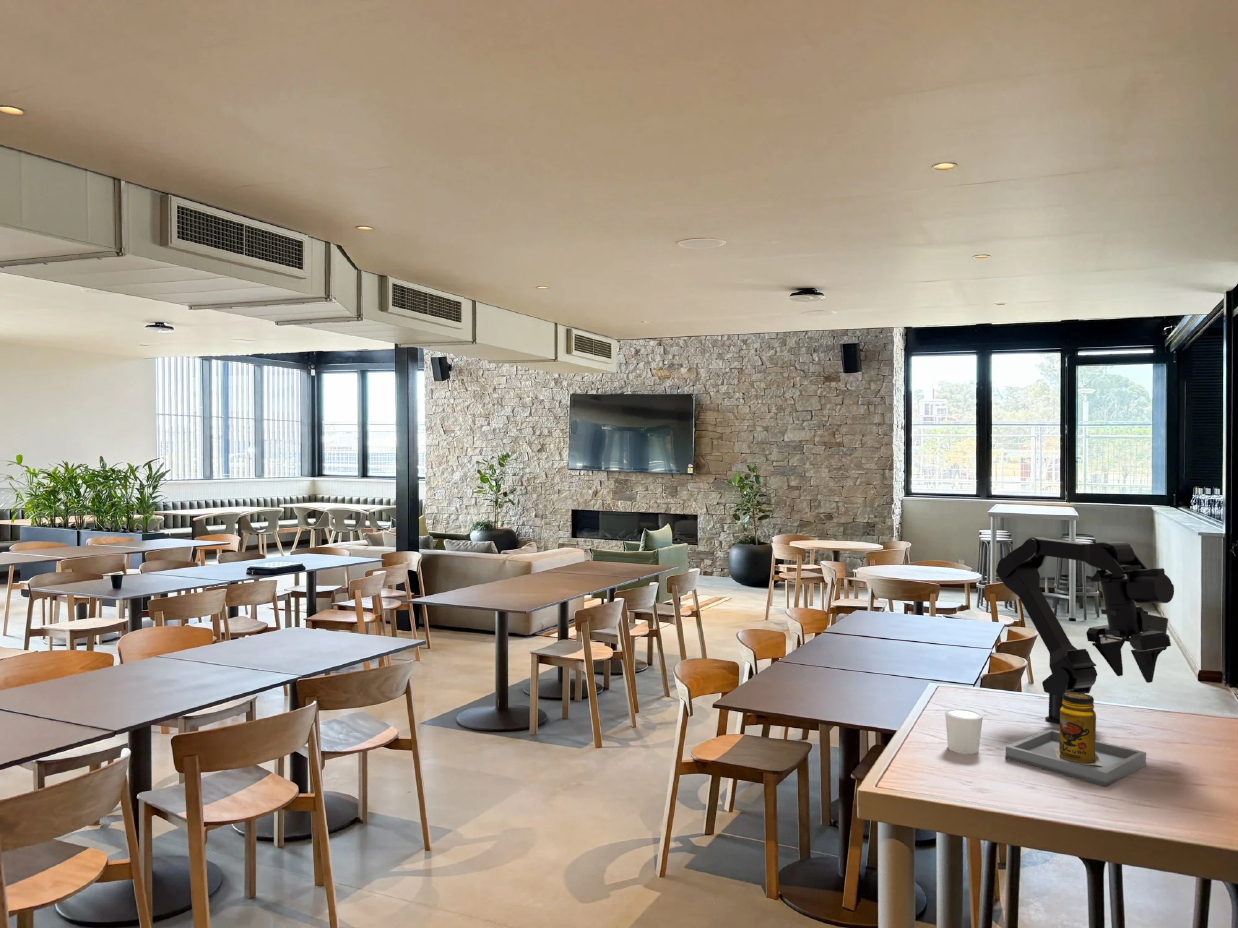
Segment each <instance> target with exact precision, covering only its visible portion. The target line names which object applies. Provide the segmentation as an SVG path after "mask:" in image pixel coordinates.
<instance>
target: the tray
mask: <svg viewBox="0 0 1238 928" xmlns="http://www.w3.org/2000/svg"><path fill="white" fill-rule="evenodd" d="M1059 736H1060V730H1054V729H1050V728H1049V729H1045V730H1043V731H1041V732H1039V733H1038V732H1037V733H1035V734H1033V735H1031V736H1028V737H1025V738H1022V739H1021V740H1018V741H1016V742H1013V743H1011V744H1007V745H1005V756H1004V757H1005V760H1007V759H1009V760H1008V761H1010V762H1014V761H1015V762H1016V763H1018V762H1019V764H1022V765H1026V766H1030V767H1032V768H1037V769H1041V770H1044V771H1048V772H1051V773H1053V774H1054V773H1055V774H1059V775H1063V776H1065V777H1069V778H1072V777H1073V779H1076V780H1079V779H1080V781H1084V782H1086V783H1087V782H1088V783H1091V784H1094V785H1098V786H1102V787H1108V786H1110V785H1112V784H1114V783H1116V782H1117V781H1119V780H1121V779H1123V778H1125V777H1127V776H1129V775H1130V774H1132V773H1134V772H1136V771H1138V770H1140V769H1141V768H1143V767H1145V766H1146V765H1147V752H1145V751H1142V750H1137V749H1133V748H1128V747H1125V746H1121V745H1117V744H1113V743H1108V742H1104V741H1100V740H1096V745H1095V748H1096V749H1095V752H1096V753H1097V756H1098V757H1099V760H1100V762H1101V764H1102V766H1098V765H1085V764H1077V763H1073V762H1069V761H1066V760H1062V759H1058V758H1057V756H1056V753H1055V750H1054V748H1059V746H1060V744H1059V740H1060V738H1059Z"/></svg>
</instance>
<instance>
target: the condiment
mask: <svg viewBox="0 0 1238 928" xmlns="http://www.w3.org/2000/svg"><path fill="white" fill-rule="evenodd" d="M1062 697H1063V701H1062V704H1063V706H1062V707H1061V709H1060V723H1059V732H1060V736H1059V738H1060V740H1059V744H1060V746H1059V748H1054V750H1055V753H1056V756H1057V758H1058V759H1062V760H1066V761H1069V762H1073V763H1077V764H1085V765H1098V766H1102V764H1101V762H1100V760H1099V757H1098V756H1097V753H1096V752H1095V749H1096V748H1095V745H1096V738H1097V734H1096V731H1097V729H1096V728H1097V713H1096V711H1095V710H1094V708H1095V705H1094V703H1095V700H1094V697H1093V695H1091V694H1089V693H1088V694H1086V693H1085V694H1084V693H1076V692H1068V693H1064V694H1063V696H1062Z"/></svg>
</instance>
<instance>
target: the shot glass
mask: <svg viewBox="0 0 1238 928" xmlns="http://www.w3.org/2000/svg"><path fill="white" fill-rule="evenodd" d="M944 715H945V727H946V729H945V730H946V739H947V740H946V741H947V748H948V750H950V751H952V752H954V753H958V754H963V755H976V754H977V753H979V751H980V750H979V749H980V743H981V735H982V727H983V717H984V716H983V714H981V713H980V712H977V711H973V710H969V709H968V710H967V709H958V708H957V709H956V708H955V709H949V710H946V711H945V713H944Z"/></svg>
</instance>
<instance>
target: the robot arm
mask: <svg viewBox="0 0 1238 928" xmlns="http://www.w3.org/2000/svg"><path fill="white" fill-rule="evenodd" d="M1047 557H1050V558H1051V557H1052V558H1058V559H1059V558H1060V559H1066V560H1072V561H1073V560H1074V561H1079V562H1082V563H1085V564H1087V565H1088V566H1089V567H1093V568H1096V569H1097V570H1096V571H1095V573H1094V575H1093V576H1091V578H1089V581H1090V582H1091V583H1099V584H1100V586H1101V587H1100V588H1101V592H1102V593H1101V594H1102V597H1103V604H1104V608H1101V609H1100V611H1101V615H1106V619H1107V624H1103V625H1102V624H1101V625H1098V626H1097V625H1096V626H1092V627H1088V629H1087V630H1086V633H1085V635H1086V638H1087V642H1091V645H1092V646H1093V647H1095V648H1096V650H1097V651H1098V652H1099V653H1100V655H1101V656H1102V657H1103V659H1104V660H1105V661H1106V662H1107V664H1108V665H1109V667H1110V669H1112V671H1113V672H1114V674H1115V675H1116V676H1117V677H1123V675H1124V670H1123V669H1124V668H1123V657H1122V648H1123V646H1124V644H1125V643H1126V642H1128V643H1129V645H1130V646H1131V648H1132V649H1131V650H1130V652H1131V654H1132V656H1133V658H1134V660H1135V663H1136V665H1137V666H1138V669H1139V671H1140V674H1141V675H1142V677H1143V679H1144V681H1145V682H1146V683H1147V684H1150V683H1153V682H1154V681H1153V680H1154V674H1155V669H1156V666H1157V660H1158V657H1159V655H1160V654H1161V653H1162V652H1163V651H1166V650H1167V649H1168V647H1171V646H1172V642H1171V637H1170V635H1169V634H1167V631H1168V623H1169V618H1167V617H1163V616H1159V615H1153V614H1149V612H1148V611H1147V610H1144V608H1143V607H1142V606H1141V605H1137V604H1168V603H1170V602H1171V601H1172V599H1173V598H1174V594H1175V587H1174V586H1175V585H1174V584H1173V583H1172V582H1173V581H1172V580H1171V578H1170V577H1169V576H1168V575H1167V574H1166V573H1165V572H1166V571H1165V569H1164V567H1163V568H1162V567H1161V568H1160V567H1159V568H1150V569H1148V567H1146V565H1145V564H1144V563H1143V562H1142V561H1141V559H1140V557H1138V556H1137V554H1136V553H1135V551H1134V548H1133V547H1132V546H1131V544H1130V543H1129V542H1126V541H1105V542H1101V541H1100V542H1093V543H1092V542H1091V543H1088V542H1080V541H1071V540H1065V539H1064V540H1061V539H1053V538H1048V537H1045V536H1039V537H1037V536H1034V537H1030V538H1028V539H1027V540H1025V541H1024V542H1023V544H1022V545H1020V546H1018V547H1016V548H1015V549H1014V550H1012V551H1010V552H1009V553H1008V554H1006V556H1005V557H1002V558H1001V559H1000V560H999V561H998V563H997V567H996V570H995V572H996V575H997V577H998V578H999V580H1000V581H1001V582H1002V583H1003V585H1004V586H1005V588H1007V589H1008V590H1009V591H1010V592H1012V593H1014V595H1016V596H1017V597H1018V598H1019V601H1020V602H1021V603H1022V606H1023V607H1024V609H1025V611H1026V612H1027V615H1028V616H1029V618H1030V620H1031V622H1032V623H1033V625H1034V627H1035V629H1036V631H1037V633H1038V635H1039V637H1040V638H1041V641H1042V642H1043V644H1044V645H1045V647H1046V650H1047V651H1048V653H1049V670H1050V672H1051V674H1050V675H1049V676H1047V677H1046V678H1045V679H1043V680H1042V682H1041V684H1042V687H1043V692H1044V693H1047V694H1048V716H1045V717H1044V720H1045V721H1047V722H1048V721H1049V722H1053V723H1057V724H1060V709H1061V707H1062V706H1063V704H1062V701H1063V697H1062V696H1063V694H1064V693H1068V692H1076V693H1084V694H1088V695H1089V694H1090V692H1091V690H1092V687H1093V686H1094V685H1095V683H1096V681H1097V677H1098V672H1097V670H1096V667H1097V664H1096V663H1095V662H1094V661H1093V660H1092V658H1091V656H1090V653H1089V651H1088V650H1087V649H1086V648H1081V649H1079V648H1076V647H1075V646H1074V645H1073V644H1072V643H1071V641H1070V639H1069V637H1068V635H1067V634H1066V632H1065V630H1064V629H1063V626H1062V625H1061V623H1060V621H1059V619H1058V618H1057V616H1056V614H1055V612H1054V611H1053V608H1052V607H1051V605H1050V604H1049V602H1048V599H1046V596H1045V595H1044V593H1043V591H1042V590H1041V575H1040V573H1039V570H1040V569H1041V567H1043V566H1044V564H1045V561H1046V558H1047ZM1098 569H1099V570H1098Z"/></svg>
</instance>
